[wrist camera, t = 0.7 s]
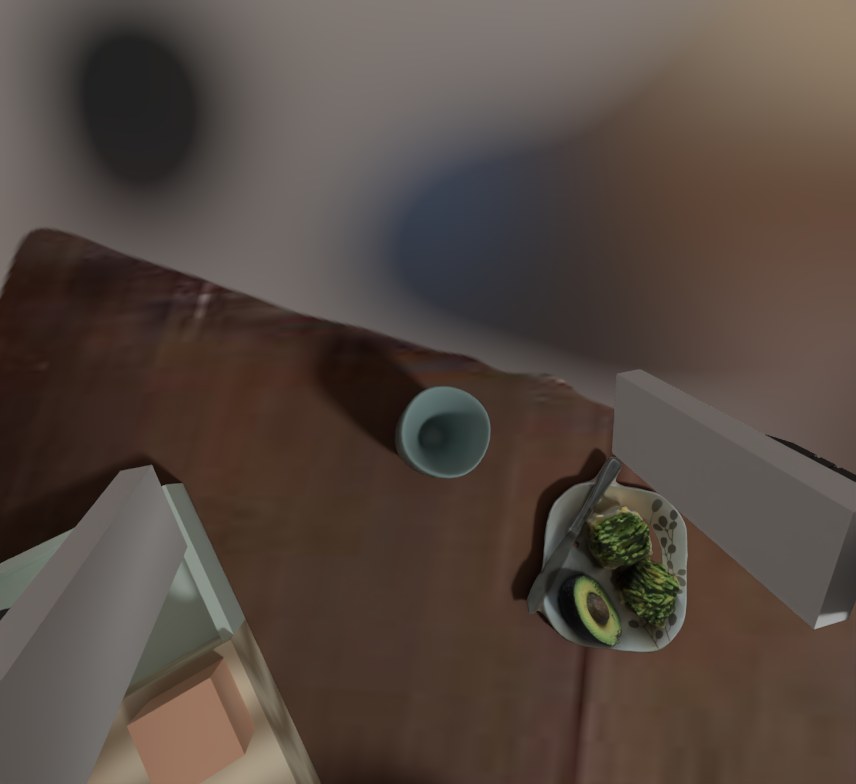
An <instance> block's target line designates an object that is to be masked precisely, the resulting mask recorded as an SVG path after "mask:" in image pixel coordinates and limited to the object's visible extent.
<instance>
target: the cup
mask: <svg viewBox="0 0 856 784" xmlns="http://www.w3.org/2000/svg"><path fill="white" fill-rule="evenodd" d="M490 431H491V429H490V421H489V418H488V414H487V412H486V410H485V409H484V407H483V405H482V404H481V403H480V402H479V401H478V400H477V399H476V398H474V397H473V396H472V395H470V394H469V393H467V392H465V391H463V390H461V389H458V388H454V387H449V386H434V387H431V388H427V389H425V390H423V391H422V392H420V393H418V394H417V395H416V396H415V397H414V398H413V399H412V400H411V401H410V402H409V403H408V404H407V406H406V407H405V409H404V410H403V411H402V413H401V415H400V417H399V419H398V422H397V425H396V428H395V436H394V439H395V447H396V450H397V453H398V455H399V457H400V458H401V460H402V461H403V462H404V463H405V464H406V465H407V466H408V467H410V468H411V469H413V470H414V471H416V472H418V473H420V474H423V475H426V476H430V477H435V478H444V479H448V478H457V477H460V476H463V475H465V474H467V473H469V472H470V471H472V470H473V469H474V468H475V467H476V466H477V465H478V464H479V463H480V461H481V460H482V458H483V457H484V455H485V452H486V450H487V448H488V444H489V440H490Z"/></svg>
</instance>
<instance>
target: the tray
mask: <svg viewBox="0 0 856 784" xmlns="http://www.w3.org/2000/svg"><path fill="white" fill-rule="evenodd" d="M161 487H162V489H163V491H164V494H165V496H166V498H167V500H168V503H169V505H170V507H171V510H172V512H173V514H174V516H175V519H176V521H177V523H178V526H179V528H180V530H181V532H182V535H183V537H184V539H185V542H186V544H187V546H188V547H187V549H186V552H185V554H184V556H183V559H182V561H181V563H180V566H179V568H178V570H177V573H176V575H175V577H174V580H173V582H172V585H171V587H170V589H169V592H168V594H167V596H166V599H165V601H164V603H163V606H162V608H161V610H160V613H159V615H158V618H157V620H156V622H155V625H154V627H153V629H152V632H151V634H150V636H149V639H148V641H147V643H146V646H145V648H144V650H143V653H142V655H141V658H140V660H139V662H138V665H137V667H136V669H135V672H134V674H133V676H132V679H131V681H130V683H129V686H130V685H132V684H134V683H135V682H137V681H139V680H141V679H142V678H144V677H146V676H148V675H150V674H151V673H153V672H155V671H157V670H158V669H160V668H162V667H164V666H165V665H167V664H169V663H171V662H173V661H174V660H176V659H178V658H180V657H181V656H183V655H185V654H187V653H188V652H190V651H192V650H194V649H196V648H197V647H199V646H201V645H203V644H204V643H206V642H208V641H210V640H211V639H213V638H215V637H217V636H219V635H220V637H221V640H222V641H224V640H226V639H227V638H229V637H231V636H233V635H234V634H235V633H236V631H237V630H238V629H239V627H240V626H241V624H242V623H243V622H244V620H245V617H244V615H243V613H242V610H241V608H240V606H239V604H238V602H237V600H236V597H235V595H234V593H233V591H232V589H231V587H230V584H229V582H228V580H227V578H226V576H225V574H224V571H223V569H222V567H221V565H220V563H219V561H218V558H217V556H216V554H215V552H214V550H213V548H212V545H211V543H210V541H209V539H208V537H207V535H206V532H205V530H204V528H203V526H202V524H201V522H200V519H199V517H198V515H197V513H196V511H195V509H194V506H193V504H192V502H191V500H190V498H189V496H188V493H187V491H186V489H185V487H184V485H183V483H178V484H167V485H163V486H161ZM73 529H74V528H73ZM73 529H71V530H69V531H67V532H65V533H63V534H61V535H59V536H57V537H54V538H52V539H50V540H48V541H46V542H44V543H42V544H40V545H38V546H36V547H33V548H31V549H29V550H27V551H25V552H23V553H21V554H19V555H17V556H15V557H13V558H10V559H8V560H6V561H4V562H2V563H0V610H3V609H7V608H11V607H12V606H13V604H14V603H15V602H16V601H17V599H18V598H19V597H20V596H21V594H22V593H23V592H24V591H25V589H26V588H27V587H28V586H29V584H30V583H31V582H32V581H33V579H34V578H35V577H36V576H37V574H38V573H39V572H40V571H41V569H42V568H43V567H44V566H45V564H46V563H47V562H48V561H49V559H50V558H51V557H52V556H53V554H54V553H55V552H56V551H57V549H58V548H59V547H60V546H61V544H62V543H63V542H64V541H65V539H66V538H67V537H68V536H69V534H70V533H71V532H72V531H73Z"/></svg>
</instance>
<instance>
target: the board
mask: <svg viewBox="0 0 856 784" xmlns="http://www.w3.org/2000/svg"><path fill="white" fill-rule="evenodd" d="M222 658H224V659H225V661H226V663H227V666H228V668H229V670H230V672H231V674H232V677H233V679H234V681H235V683H236V685H237V688H238V690H239V692H240V694H241V696H242V699H243V701H244V703H245V705H246V707H247V710H248V712H249V714H250V716H251V718H252V721H253V723H254V725H255V730H254V733H253V735H252V738H251V740H250V743H249V746H248V748H247V751H246V753H245V755H244V756H242V757H241V758H239V759H238V760H236V761H234V762H233V763H231V764H230V765H228V766H227V767H225V768H223V769H222V770H220V771H219V772H217V773H215V774H214V775H212V776H211V777H209V778H208V779H206V780H204V781H203V782H201V783H200V784H321V782H320V780H319V777H318V775H317V773H316V771H315V769H314V767H313V764H312V762H311V760H310V758H309V756H308V753H307V751H306V749H305V747H304V745H303V743H302V740H301V738H300V736H299V734H298V732H297V730H296V727H295V725H294V723H293V721H292V719H291V717H290V714H289V712H288V710H287V708H286V706H285V704H284V701H283V699H282V697H281V695H280V693H279V691H278V688H277V686H276V684H275V682H274V680H273V678H272V675H271V673H270V671H269V669H268V667H267V665H266V662H265V660H264V658H263V656H262V654H261V652H260V649H259V647H258V645H257V643H256V641H255V639H254V636H253V634H252V632H251V630H250V628H249V626H248V623H247V621H246V619H245V620H244V622H243V623H242V624H241V626H240V627H239V629H238V630H237V631H236V633H235V634H234V635H233V636H231V637H229V638H227V639H226V640H224V641H222V640H221V637H220V635H219V636H217V637H215V638H213V639H211V640H210V641H208V642H206V643H204V644H203V645H201V646H199V647H197V648H196V649H194V650H192V651H190V652H188V653H187V654H185V655H183V656H181V657H180V658H178V659H176V660H174V661H173V662H171V663H169V664H167V665H165V666H164V667H162V668H160V669H158V670H157V671H155V672H153V673H151V674H150V675H148V676H146V677H144V678H142V679H141V680H139V681H137V682H135V683H134V684H132V685H130V686H128V688H127V691H126V693H125V695H124V698H123V700H122V702H121V705H120V707H119V709H118V712H117V714H116V716H115V719H114V721H113V724H112V726H111V728H110V731H109V733H108V735H107V738H106V740H105V742H104V745H103V747H102V749H101V752H100V754H99V757H98V759H97V761H96V764H95V766H94V768H93V771H92V773H91V775H90V778H89V780H88V782H87V784H151V781H150V779H149V777H148V774H147V772H146V770H145V767H144V765H143V763H142V761H141V758H140V756H139V754H138V751H137V749H136V747H135V744H134V742H133V740H132V737H131V735H130V733H129V730H128V728H127V725H128V724H129V723H130V722H131V721H132V720H133V718H134V717H135V716H136V715H137V714H138V713H139V712H140V711H141V709H142V708H143V707H144V706H145V705H146V704H147V703H148V702H149V701H150V700H151V699H153V698H155V697H157V696H158V695H160V694H162V693H164V692H165V691H167V690H169V689H170V688H172V687H174V686H176V685H177V684H179V683H181V682H183V681H184V680H186V679H188V678H189V677H191V676H193V675H195V674H196V673H198V672H200V671H202V670H203V669H205V668H207V667H208V666H210V665H212V664H214V663H215V662H217V661H219V660H221V659H222Z"/></svg>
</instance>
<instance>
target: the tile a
mask: <svg viewBox="0 0 856 784" xmlns="http://www.w3.org/2000/svg"><path fill="white" fill-rule="evenodd" d="M127 728H128V730H129V733H130V735H131V737H132V740H133V742H134V744H135V747H136V749H137V751H138V754H139V756H140V758H141V761H142V763H143V765H144V767H145V770H146V772H147V774H148V777H149V779H150V781H151V784H200V783H201V782H203V781H204V780H206V779H208V778H209V777H211V776H212V775H214V774H215V773H217V772H219V771H220V770H222V769H223V768H225V767H227V766H228V765H230V764H231V763H233V762H234V761H236V760H238V759H239V758H241V757H242V756H244V755H245V753H246V751H247V748H248V746H249V743H250V740H251V738H252V735H253V733H254V730H255V725H254V723H253V721H252V718H251V716H250V714H249V712H248V710H247V707H246V705H245V703H244V701H243V699H242V696H241V694H240V692H239V690H238V688H237V685H236V683H235V681H234V679H233V677H232V674H231V672H230V670H229V668H228V666H227V663H226V661H225V659H224V658H222V659H221V660H219V661H217V662H215V663H214V664H212V665H210V666H208V667H207V668H205V669H203V670H202V671H200V672H198V673H196V674H195V675H193V676H191V677H189V678H188V679H186V680H184V681H183V682H181V683H179V684H177V685H176V686H174V687H172V688H170V689H169V690H167V691H165V692H164V693H162V694H160V695H158V696H157V697H155V698H153V699H151V700H150V701H149V702H148V703H147V704H146V705H145V706H144V707H143V708H142V709H141V711H140V712H139V713H138V714H137V715H136V716H135V717H134V718H133V720H132V721H131V722H130V723H129V724H128V725H127Z"/></svg>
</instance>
